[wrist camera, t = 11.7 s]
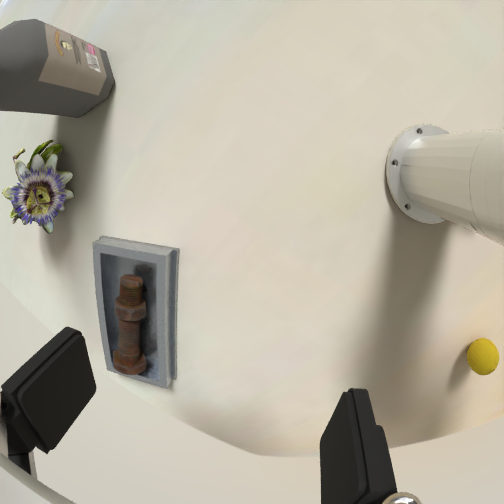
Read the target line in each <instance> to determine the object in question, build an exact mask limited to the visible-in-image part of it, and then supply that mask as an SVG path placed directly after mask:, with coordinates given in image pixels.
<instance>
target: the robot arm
mask: <svg viewBox="0 0 504 504" xmlns="http://www.w3.org/2000/svg"><path fill="white" fill-rule="evenodd" d="M417 131H418V133H417ZM392 161H394V165H392ZM386 176H387V184H388V187H389V190H390V193H391V195H392V197H393V199H394V201H395V203H396V204H397V205H398V207H399V208H400V209H401V210H402V211H403V212H404V213H405V214H406V215H407V216H409V217H411V218H412V219H414V220H416V221H419V222H422V223H426V224H436V223H440V222H443V221H445V220H449V221H451V222H453V223H456V224H458V225H460V226H463V227H465V228H467V229H469V230H472V231H474V232H476V233H478V234H480V235H483V236H485V237H487V238H489V239H491V240H493V241H495V242H497V243H499V244H501V245H504V129H496V130H482V131H470V132H460V133H449V132H447V131H446V130H444V129H442V128H440V127H438V126H435V125H431V124H421V125H416V126H413V127H410V128H408V129H407V130H405V131H403V132H402V133H401V134H400V135H399V136H398V137H397V138H396V140H395V141H394V143H393V144H392V146H391V149H390V151H389V154H388V158H387V163H386ZM405 205H407V206H406V207H405ZM1 388H2V391H1V392H0V504H76V503H74V502H72V501H70V500H69V499H67V498H65V497H64V496H62V495H60V494H58V493H57V492H55V491H54V490H52V489H50V488H49V487H47V486H46V485H44V484H43V483H41V482H40V481H38V480H37V474H36V468H35V461H34V453H33V449H34V448H35V446H36V447H37V448H38V449H40V450H42V451H43V452H45V453H46V454H48V452H49V451H50V450H53V449H54V448H55V447H56V446H57V444H58V443H59V442H60V440H61V439H62V437H63V436H64V435H65V433H66V432H67V431H68V429H69V428H70V426H71V425H72V424H73V422H74V421H75V420H76V418H77V417H78V416H79V414H80V413H81V411H82V410H83V409H84V407H85V406H86V405H87V403H88V402H89V401H90V399H91V398H92V397H93V395H94V394H95V392H96V384H95V380H94V376H93V372H92V368H91V364H90V360H89V356H88V352H87V347H86V343H85V339H84V337H83V336H82V333H81V332H80V331H78V330H76V329H73V328H70V327H65V328H64V329H63V330H62V331H60V332H59V333H58V334H57V335H56V336H55V337H54V338H52V339H51V340H50V341H49V342H48V343H47V344H46V345H44V346H43V347H42V348H41V349H40V350H39V351H38V352H37V353H36V354H35V355H33V357H31V358H30V359H29V360H28V361H27V362H26V363H25V364H24V365H23V366H21V367H20V369H18V370H17V371H16V372H15V373H14V374H13V375H12V376H11V377H10V378H9V379H8V380H7V381H6V382H5V383H4V384H3V385H2V386H1ZM320 467H321V504H422V503H421V501H420V500H419V499H418V498H417V497H416V496H414V495H413V494H410V493H407V492H400V493H398V492H397V488H396V482H395V477H394V472H393V468H392V463H391V458H390V454H389V450H388V445H387V441H386V437H385V433H384V430H383V428H382V426H380V425H376V422H375V418H374V414H373V410H372V406H371V402H370V398H369V394H368V391H367V390H366V389H355V388H350V389H349V390H348V392H343V394H342V396H341V398H340V400H339V402H338V404H337V406H336V409H335V411H334V413H333V415H332V417H331V419H330V421H329V423H328V425H327V427H326V429H325V431H324V433H323V435H322V437H321V440H320Z"/></svg>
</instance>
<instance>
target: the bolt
mask: <svg viewBox="0 0 504 504" xmlns="http://www.w3.org/2000/svg"><path fill="white" fill-rule="evenodd" d="M142 290H143V280H142V278H141V277H139V276H137V275H133V274H125V275H123V276H122V277H121V278H120V292H119V293H120V294H119V296H118V297H116V298H115V315H116V316H117V317H119V347H118V349H117V350H114V351H113V363H114V369H115V370H117V371H118V372H120V373H122V374H125V375H136V374H139V373H141V372H142V371H144V370H145V369H146V360H145V355H144V352H143V351H141V350H140V348H139V346H140V321H141V319H142V318H144V317H145V316H146V302H145V300H144V299H143V298H142V292H143V291H142Z"/></svg>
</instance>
